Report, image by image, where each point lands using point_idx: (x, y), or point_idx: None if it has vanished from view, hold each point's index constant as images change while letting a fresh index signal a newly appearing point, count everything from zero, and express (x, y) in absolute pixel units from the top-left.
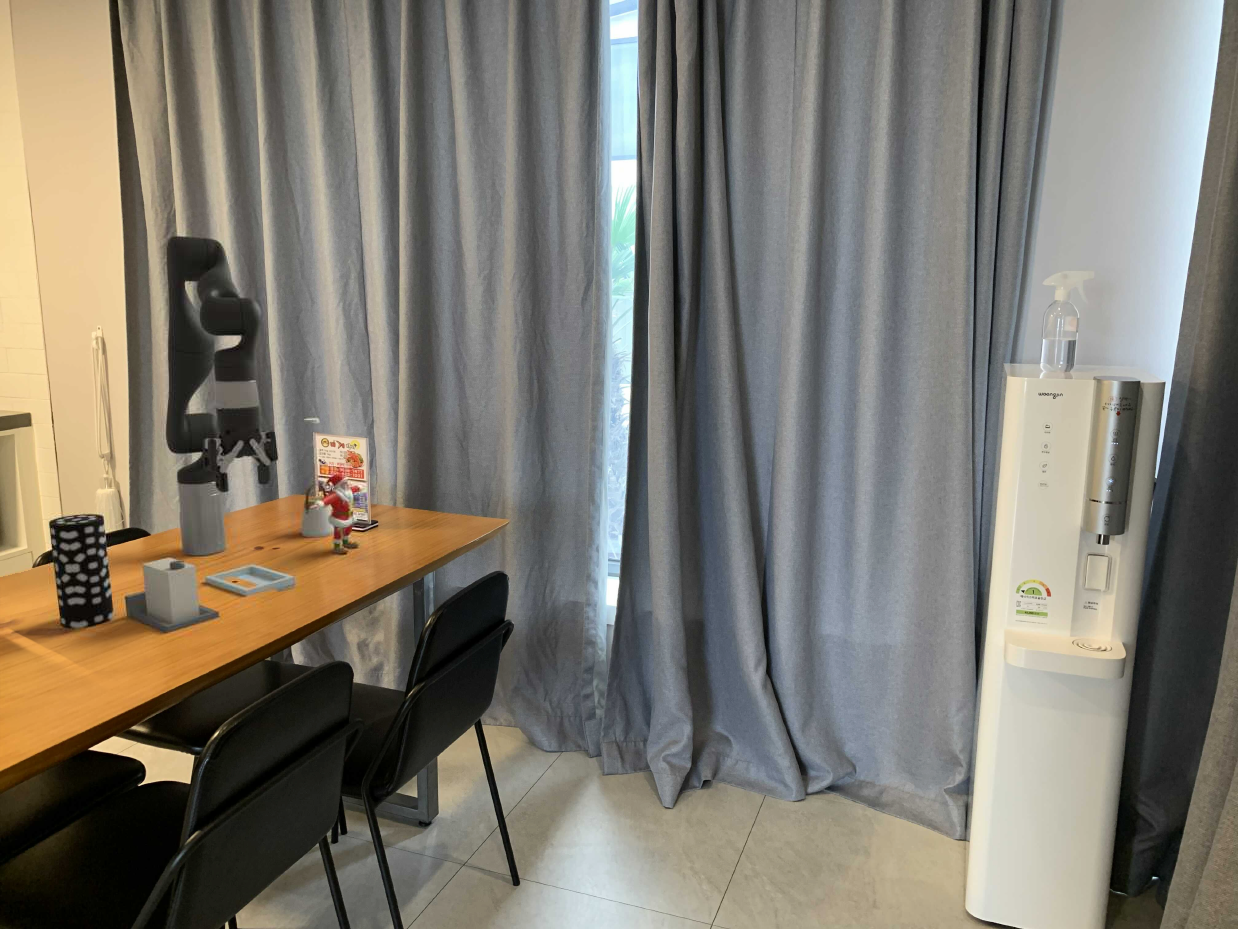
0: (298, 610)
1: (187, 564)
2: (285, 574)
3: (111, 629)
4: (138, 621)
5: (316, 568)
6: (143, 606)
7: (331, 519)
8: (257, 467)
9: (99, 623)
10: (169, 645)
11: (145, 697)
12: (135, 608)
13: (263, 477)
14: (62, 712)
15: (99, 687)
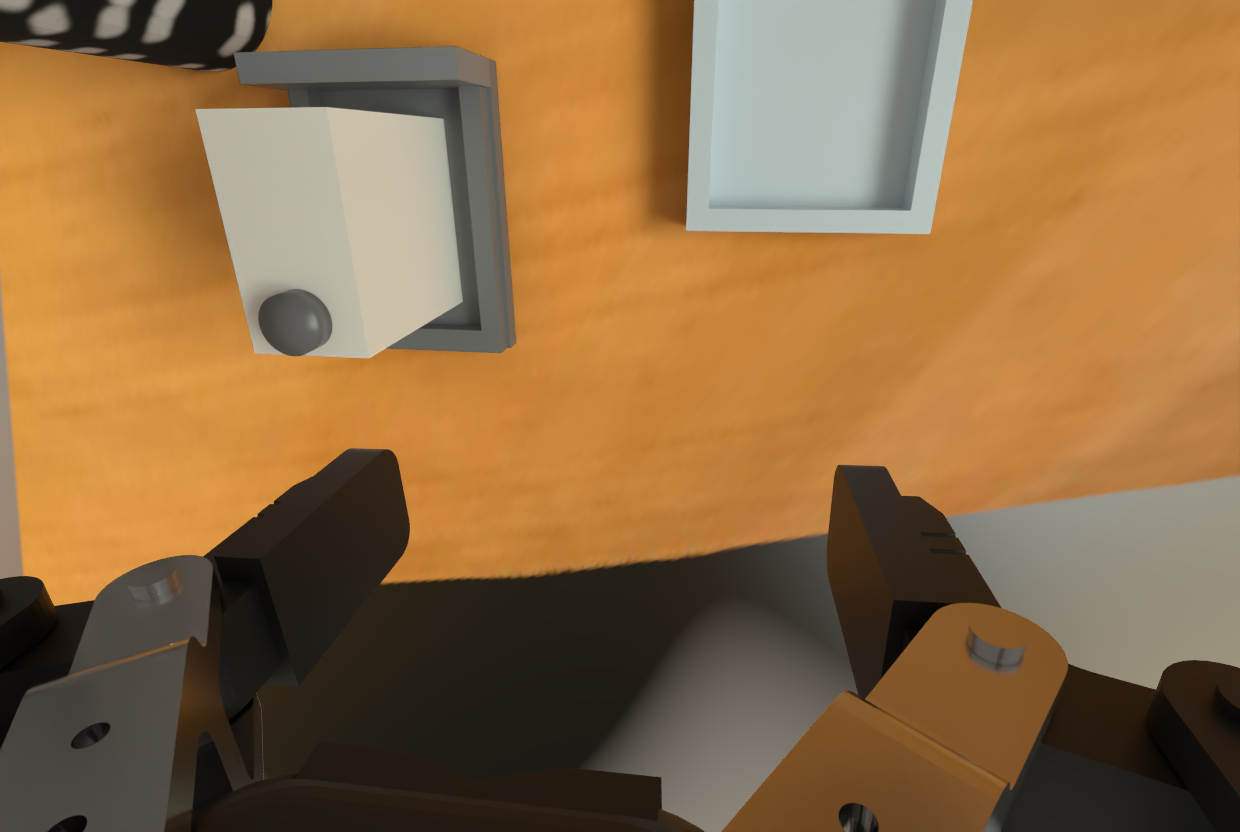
0: (725, 457)
1: (352, 307)
2: (939, 163)
3: (247, 103)
4: None
5: (1212, 53)
6: (327, 87)
7: None
8: (886, 577)
9: (200, 68)
10: (341, 389)
11: None
12: (298, 88)
13: (843, 596)
14: (95, 527)
15: (162, 481)
